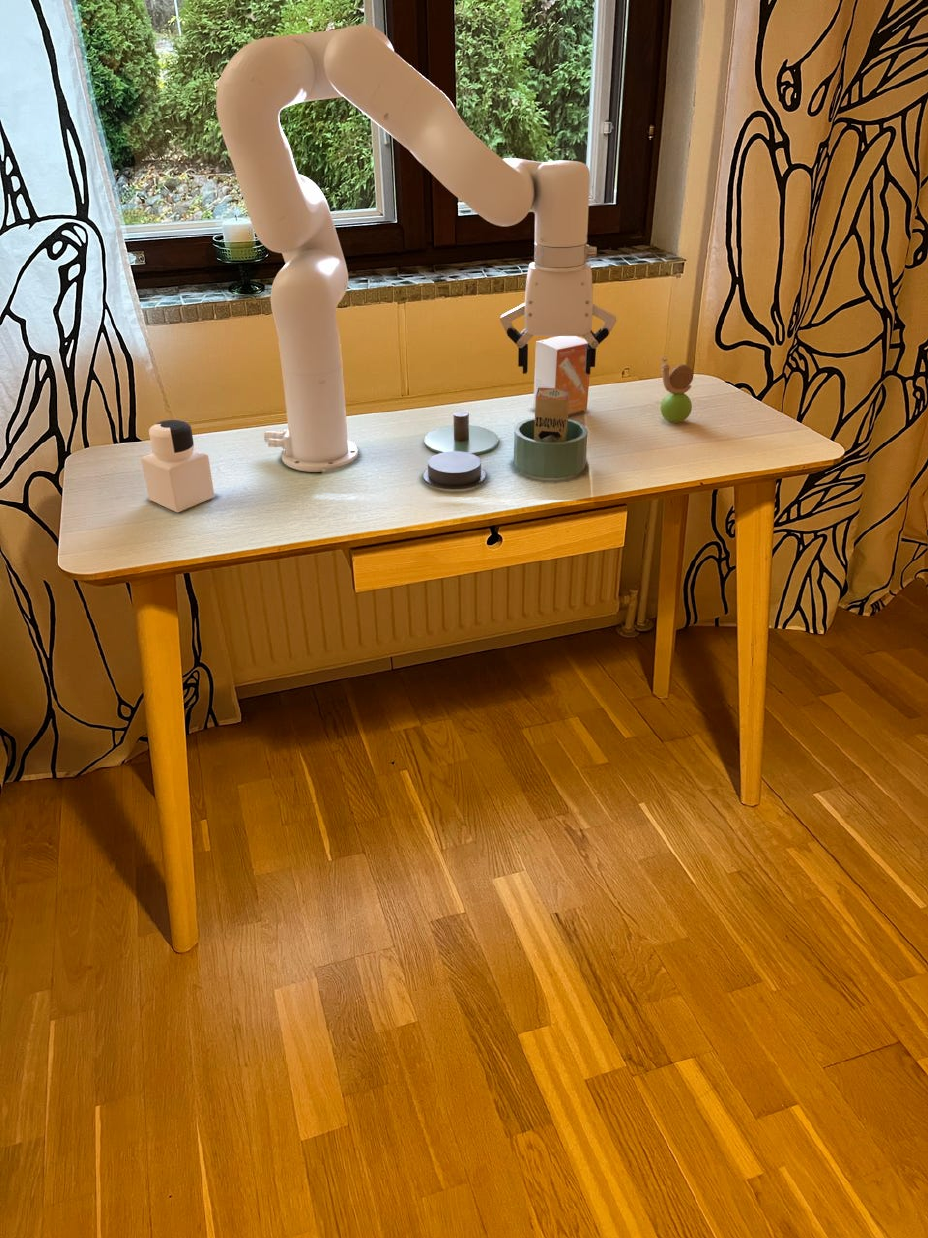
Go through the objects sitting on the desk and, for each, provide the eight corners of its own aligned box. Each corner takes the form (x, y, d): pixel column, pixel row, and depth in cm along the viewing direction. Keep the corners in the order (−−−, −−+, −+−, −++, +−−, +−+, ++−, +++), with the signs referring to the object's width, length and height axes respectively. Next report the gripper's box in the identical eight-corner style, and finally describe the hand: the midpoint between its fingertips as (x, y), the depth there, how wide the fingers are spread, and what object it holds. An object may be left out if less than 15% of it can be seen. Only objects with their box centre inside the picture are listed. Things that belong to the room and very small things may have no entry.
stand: (419, 491, 151) (419, 473, 149) (426, 465, 159) (426, 448, 157) (484, 493, 150) (484, 475, 148) (487, 467, 158) (487, 449, 157)
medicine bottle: (186, 484, 153) (174, 412, 146) (215, 497, 149) (204, 423, 143) (148, 500, 148) (133, 425, 142) (177, 513, 144) (163, 437, 138)
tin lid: (420, 458, 161) (419, 426, 158) (428, 429, 172) (427, 399, 169) (496, 460, 160) (497, 428, 157) (499, 431, 171) (500, 401, 168)
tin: (512, 480, 154) (513, 443, 151) (514, 451, 164) (515, 415, 160) (586, 482, 153) (588, 444, 150) (583, 453, 163) (586, 417, 160)
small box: (553, 421, 175) (556, 349, 168) (532, 410, 180) (534, 340, 173) (588, 411, 179) (593, 341, 172) (566, 401, 183) (570, 332, 176)
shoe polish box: (535, 457, 161) (538, 387, 154) (565, 459, 160) (569, 388, 154) (532, 469, 157) (535, 398, 150) (563, 471, 156) (567, 399, 149)
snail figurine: (648, 418, 176) (655, 353, 170) (680, 414, 178) (688, 349, 171) (662, 429, 172) (670, 362, 165) (695, 425, 173) (704, 358, 167)
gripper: (618, 249, 143) (611, 363, 152) (501, 249, 144) (501, 363, 154) (622, 261, 137) (614, 379, 146) (499, 261, 138) (499, 378, 147)
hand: (556, 371), depth 150 cm, fingers open, 9 cm apart
